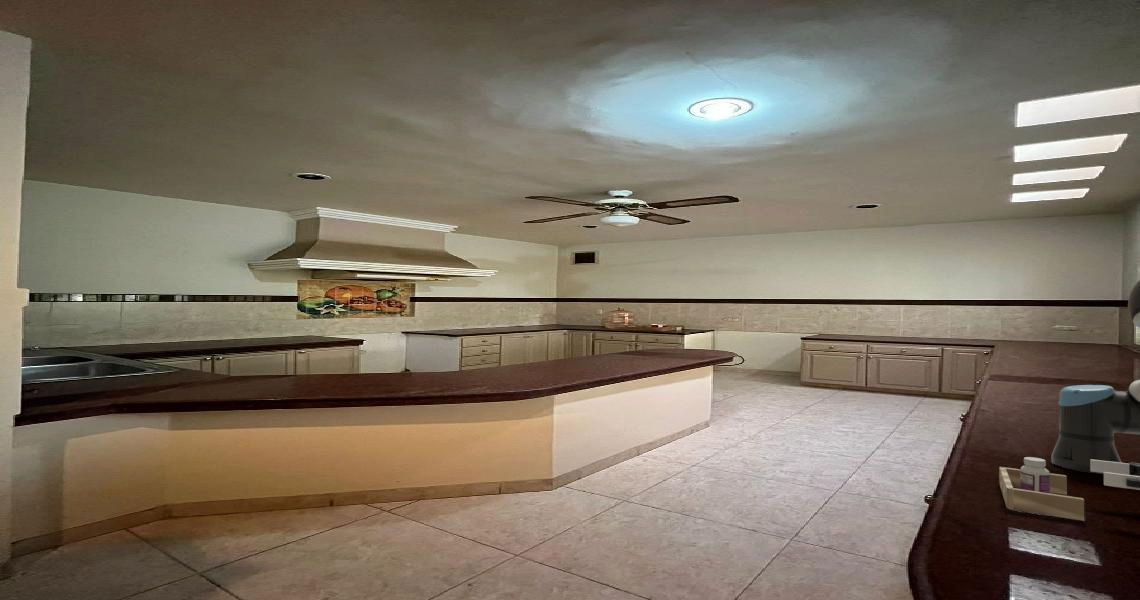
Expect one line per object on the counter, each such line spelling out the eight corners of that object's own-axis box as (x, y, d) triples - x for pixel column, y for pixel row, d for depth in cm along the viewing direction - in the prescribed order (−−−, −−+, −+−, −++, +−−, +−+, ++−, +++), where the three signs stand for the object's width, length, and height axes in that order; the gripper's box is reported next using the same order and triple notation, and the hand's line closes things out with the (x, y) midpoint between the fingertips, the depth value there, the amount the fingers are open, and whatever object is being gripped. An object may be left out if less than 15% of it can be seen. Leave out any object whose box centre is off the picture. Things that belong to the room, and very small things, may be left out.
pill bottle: (1045, 498, 135) (1045, 457, 135) (1053, 505, 130) (1053, 463, 130) (1017, 495, 137) (1017, 455, 137) (1024, 501, 132) (1024, 460, 132)
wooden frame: (999, 483, 146) (999, 466, 146) (1065, 493, 139) (1065, 475, 139) (1006, 508, 128) (1006, 488, 128) (1084, 520, 120) (1084, 499, 121)
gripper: (1266, 525, 105) (1110, 503, 117) (1213, 492, 126) (1085, 476, 138) (1265, 484, 106) (1110, 466, 117) (1213, 458, 126) (1085, 444, 138)
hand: (1096, 471), depth 128 cm, fingers open, 13 cm apart
